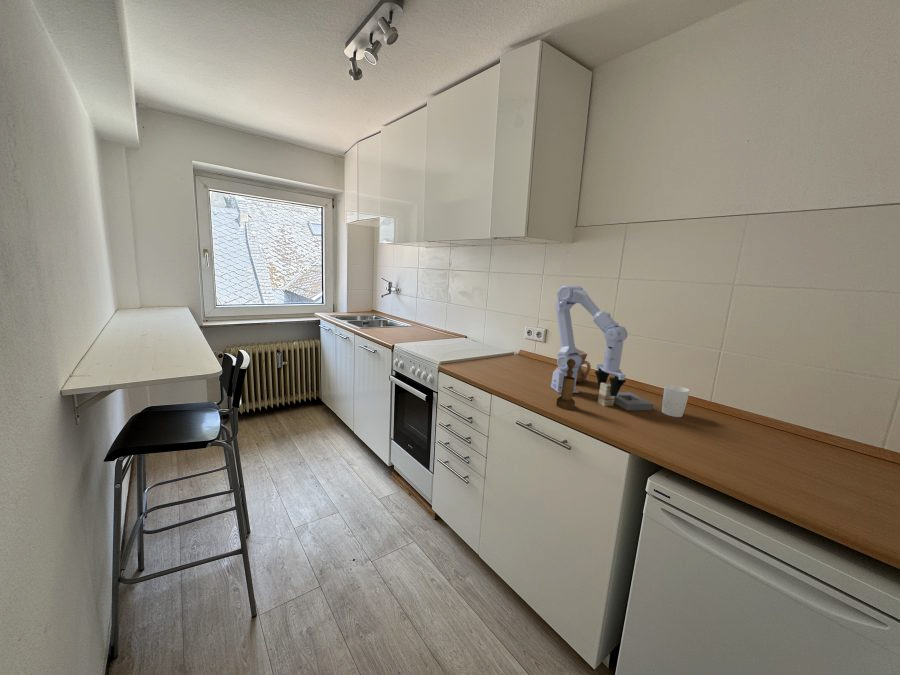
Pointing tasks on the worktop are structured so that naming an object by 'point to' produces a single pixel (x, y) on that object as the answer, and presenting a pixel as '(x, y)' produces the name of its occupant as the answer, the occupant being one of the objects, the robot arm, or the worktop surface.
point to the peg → (605, 395)
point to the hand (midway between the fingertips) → (607, 392)
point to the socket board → (632, 401)
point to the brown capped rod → (567, 388)
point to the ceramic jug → (581, 373)
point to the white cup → (674, 400)
